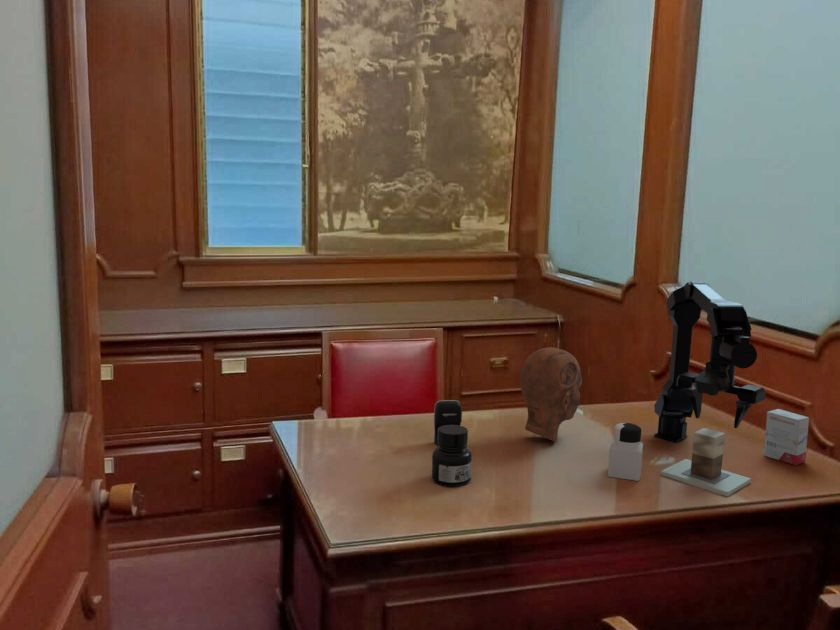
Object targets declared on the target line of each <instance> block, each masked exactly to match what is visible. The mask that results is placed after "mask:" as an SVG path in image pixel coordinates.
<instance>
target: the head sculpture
mask: <svg viewBox="0 0 840 630" xmlns="http://www.w3.org/2000/svg"><path fill="white" fill-rule="evenodd" d="M519 375H520V376H519V385H520V386H519V387H520V390H521V393H522V396H523V400H524V402H525V404H526V409H527V419H526V423H525V426H524V429H525V431H527V432H530V433H532V434H534V435H538V436H540V437H541V438H545V439H547V440H550V441H553V442H557V441H558V435H559V428H560V425H561V424H562V423H563V422H565V421H569V420H572V419H573V418H574V416H575V413H576V412H577V410H578V407H579V404H580V400H581V393H580V388H581V387H582V384H583V378H582V373H581V367H580V363H579V362H578V359H576V357H575V356H574V355H573V354H572V353H570V352H568V351H567V350H565V349H561V348H557V347H551V346H550V347H543V348H540V349H538V350H535V351H534V352H532V353H531V354H530V355H528V356H527V358H526V359H525V361H524V363H523V364H522V367H521V370H520V374H519Z"/></svg>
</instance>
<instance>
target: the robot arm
mask: <svg viewBox="0 0 840 630" xmlns="http://www.w3.org/2000/svg"><path fill="white" fill-rule="evenodd" d="M666 308H667V316H668V318H669V319H670V321H671V323H672V325H673V327H672V328H673V329H672V339H671V353H670V362H669V363H670V365H669V376H668V379H667V381H666V382H665V383H664V384H663V386H662V388H661V392H660V393H661V394H660V395H659V396H658V398H657V400H656V401H655V403H654V405H653V406H654V413H655V414H656V415H657V416H658V425H657V432H656V433H654V437H658V438H661V439H665V440H667V441H670V442H674V443H677V442H679V441H682V440H684V439H686V438H687V437H688V435H687V429H688V423H687V418H692V415H693V414H694V416H695V418H696V419H700V417H701V413H702V406H703V405H702V404H703V396H704V394H706V395H709V396H711V397H714V396H717V395H718V394H719V392H723V393H726V394H731V395H736V396H737V398H738V400H736V401H735V405H736V410H735V417H734V421H733V426H734V427H733V428H734V429H738V428H739V426H740V424H741V422H742V421H743V419H744V418H745V415H746V413H747V412H748V410H749V409H750V408H751V407H752V406H753V405H756V404H758V403H760V402H763V401H765V400H766V390H765V389H764V387H762V386H757V385H753V384H749V383H748V384H746V385H743V386H737V385H735V384H737V379H735V376H736V375H735V374H736V368H739V369H748V368H750V367H752V366H753V365H754V364H755V362H756V361H757V359H758V353H757V352H758V351H757V349H756V347H755V346H754V345H753V344H752V343H750V338H751V336H752V333H751V331H752V327H751V323H750V320H749V317H748V313H747V311H746V309H745V307H744V305H742V304H741V303H739V302H736V301H732V300H731V301H730V300H727V299H724V298H723V297H722V296H721V295H720V294H719V293H717V292H716V291H715V290H713V288H711V286H710V285H709V283H708V282H705V281H689V282H686V283H685V284H684V285H683V286H681V287H680V288H677V289H675V290H673V291H672V292H671V293H670V294H669V296H668V297H667V299H666ZM702 311H704V312H705V313H706V314H707V315H706V321H707V323H708V324H709V328H710V330H709V331H708V332H709V333H708V334H709V335H711V337H710V346H709V347H710V348H709V359H708V360H707V361H706V364H705V368H704V370H702V371H701V372H700V373H696V372H691V371H690V361H691V349H692V339H693V338H692V336H693V328H694V327H695V326H696V324H697V323H698V321H699V320H700V318H701V314H702ZM693 412H694V413H693Z"/></svg>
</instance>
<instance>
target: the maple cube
mask: <svg viewBox="0 0 840 630" xmlns="http://www.w3.org/2000/svg"><path fill="white" fill-rule="evenodd" d="M725 437H726V433H725V432H722V431H718V430H713V429H710V428H706V427H704V428H700V429H699V430H696V431H694V432H693V441H692V442H693V443H692V453H694V454H698V455H701V456H705V457H708V458H711V459H714V458H716V457H718V456H720V455H722V454H723V455H724V448H725V447H724V446H725ZM692 453H691V454H692Z"/></svg>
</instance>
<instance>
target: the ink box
mask: <svg viewBox="0 0 840 630" xmlns="http://www.w3.org/2000/svg"><path fill="white" fill-rule="evenodd" d="M809 423H810V417H808V416H805V415H801V414H799V413H798V414H797V413H796V412H795V413H793V412H792V411H791V412H790V411H787V410H784V409H780V408H776V409H772V410H768V411H767V412H766V424H765V435H764V436H765V437H764V447H763V456H764V457H768V458H771V459H774V460H776V461H781V462H784V463H787V464H789V465H794V466H798V465H801V464H803V463H804V462H806V455H807V446H808V433H809V425H810V424H809Z"/></svg>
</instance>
